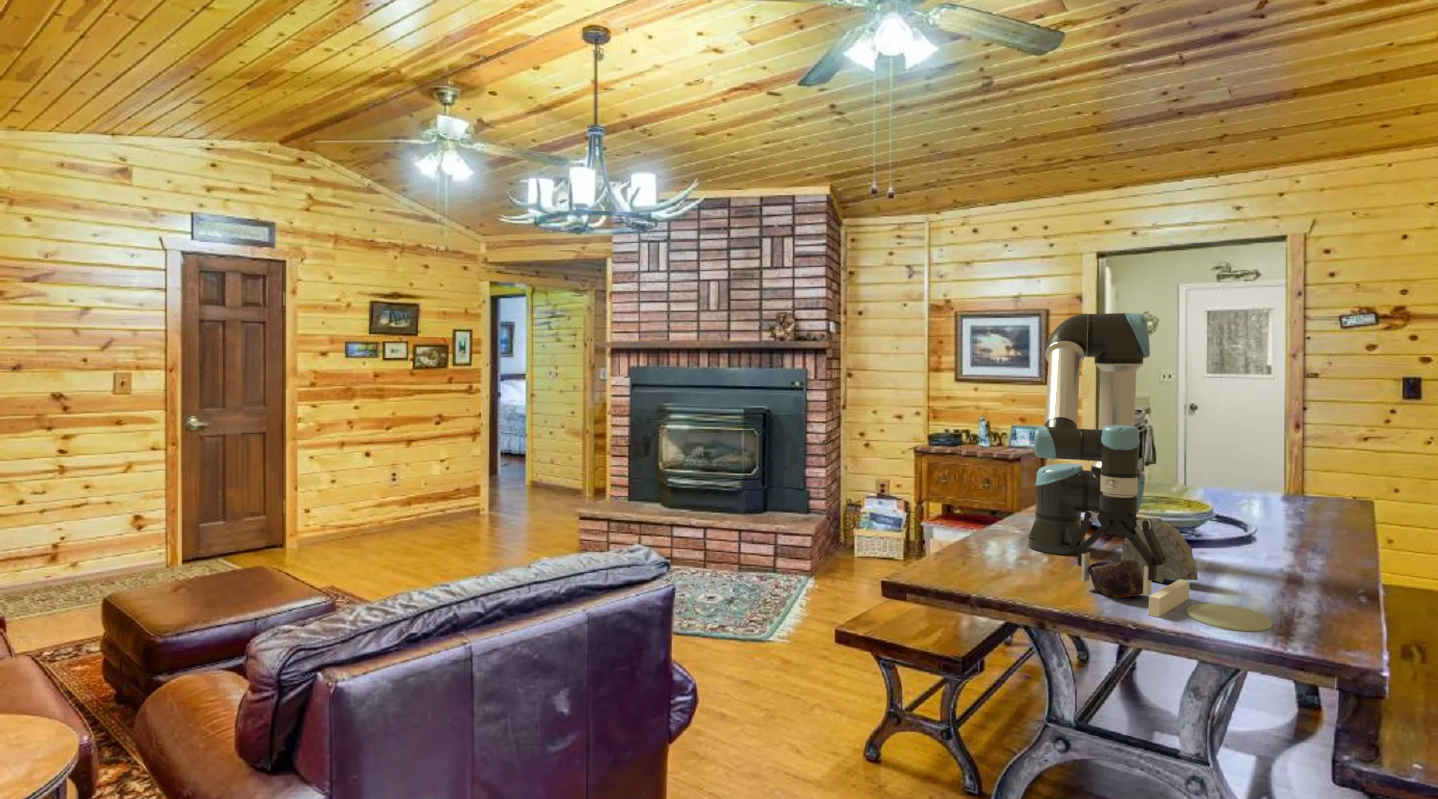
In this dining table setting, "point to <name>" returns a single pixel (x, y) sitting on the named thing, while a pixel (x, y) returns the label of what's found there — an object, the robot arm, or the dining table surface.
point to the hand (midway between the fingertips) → (1115, 587)
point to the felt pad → (1229, 617)
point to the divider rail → (1168, 598)
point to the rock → (1117, 578)
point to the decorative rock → (1165, 553)
